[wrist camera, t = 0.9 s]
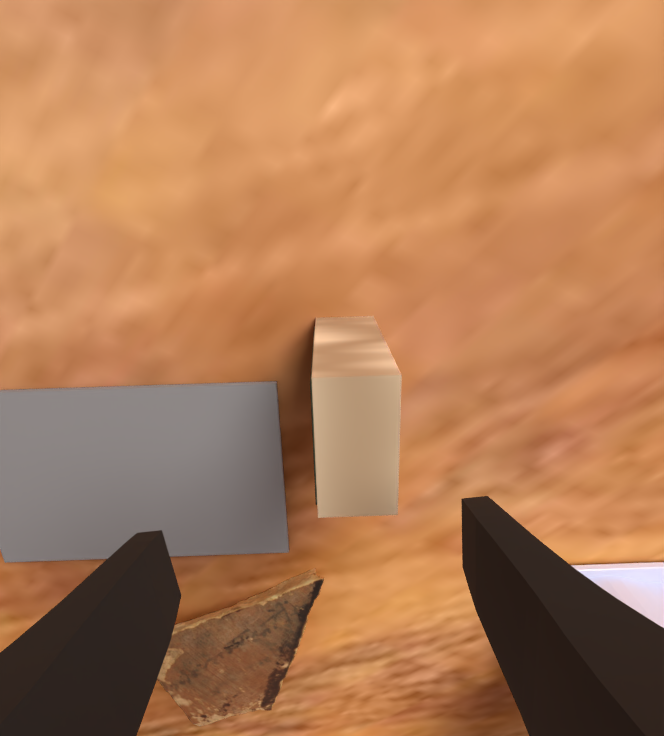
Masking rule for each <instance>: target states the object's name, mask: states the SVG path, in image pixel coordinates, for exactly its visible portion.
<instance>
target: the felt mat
mask: <svg viewBox="0 0 664 736" xmlns="http://www.w3.org/2000/svg"><path fill="white" fill-rule="evenodd" d="M159 530H162V532H163V535H164V539H165V542H166V546H167V549H168V552H169V556H170V557H173V556H202V555H230V554H259V553H287V552H289V540H288V526H287V513H286V499H285V486H284V472H283V459H282V445H281V432H280V418H279V405H278V391H277V381H270V382H238V383H207V384H176V385H144V386H113V387H82V388H50V389H19V390H0V550H1V553H2V556H3V559H4V561H5V562H31V561H60V560H88V559H108V558H109V557H110V556H111V555H112V554H113V553H115V552H116V551H117V550H118V549H119V548H120V547H121V546H122V545H123V544H124V543H126V542H127V541H128V540H129V539H130V538H131V537H133V536H134V535H135V534H136V533H140V532H149V531H159Z"/></svg>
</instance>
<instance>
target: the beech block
mask: <svg viewBox="0 0 664 736" xmlns="http://www.w3.org/2000/svg"><path fill="white" fill-rule="evenodd" d="M310 390H311V412H312V433H313V454H314V476H315V497H316V505H317V506H318V518H324V517H353V516H382V515H398V486H399V449H400V412H401V373H400V371H399V369H398V367H397V364H396V362H395V360H394V358H393V356H392V354H391V352H390V350H389V348H388V345H387V343H386V341H385V339H384V337H383V335H382V333H381V331H380V329H379V326H378V324H377V322H376V320H375V318H374V316H356V317H323V318H316V321H315V327H314V338H313V351H312V364H311V378H310Z"/></svg>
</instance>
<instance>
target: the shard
mask: <svg viewBox="0 0 664 736" xmlns="http://www.w3.org/2000/svg"><path fill="white" fill-rule="evenodd" d="M323 581H324V578H323V577H319V576H317V575H316V569H315V568H314V569H311V570H309V571H307V572H306V573H303V574H300V575H298V576H296V577H293V578H291V579H289V580H286V581H284V582H282V583H281V584H279V585H277V586H276V587H273V588H271V589H269V590H267V591H265V592H263V593H260V594H258V595H255V596H252V597H249V598H248V599H247V600H242V601H240V602H238V603H237V604H235V605H234V606H232V607H228V608H224V609H221V610H219V611H215V612H213V613H210V614H205V615H203V616H201V617H198V618H196V619H191V620H190V621H186V622H182V623H178V624H176V625H174V629H173V633H172V637H171V641H170V644H169V647H168V650H167V652H166V655H165V658H164V661H163V664H162V666H161V669H160V672H159V675H158V678H157V680H159V681H160V683H161V685H162V686H163V688H164V689H165V690H166V691H167V692H169V693H170V695H171V696H172V698H173V699H174V700H175V701H176V703H177V704H178V705H179V706H180V707H181V708H182V709H183V711H184V712H185V714H186V715H187V717H188V719H189V720H190V721H191V722H192V723H193V724H195V725H198V726H203V725H207V724H210V723H213V722H216V721H219V720H221V719H225V718H227V717H230V716H235V715H238V714H244V713H247V712H250V711H256V710H271V709H272V707H273V706H274V703H275V701H276V697H277V696H278V694H279V692H280V689H281V687H282V682H283V679H284V678H285V677H286V675H287V672H288V669H289V666H290V665H291V663H292V661H293V659H294V657H295V654H296V652H297V649H298V647H299V645H300V641H301V638H302V636H303V633H304V630H305V628H306V623H307V621H308V614H309V612H310V610H311V607H312V606H313V603H314V600H315V599H316V598H317V597H318V595H319V593H320V589H321V586H322V584H323Z"/></svg>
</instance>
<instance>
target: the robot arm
mask: <svg viewBox="0 0 664 736" xmlns="http://www.w3.org/2000/svg"><path fill="white" fill-rule="evenodd" d="M462 553H463V570H464V573H465V576H466V580H467V583H468V586H469V590H470V593H471V596H472V599H473V602H474V605H475V609H476V611H477V614H478V616H479V618H480V621H481V623H482V626H483V628H484V630H485V633H486V635H487V637H488V640H489V642H490V644H491V646H492V649H493V651H494V653H495V656H496V658H497V660H498V663H499V665H500V667H501V669H502V672H503V674H504V676H505V679H506V681H507V683H508V686H509V688H510V690H511V692H512V695H513V697H514V699H515V702H516V704H517V706H518V709H519V711H520V713H521V716H522V718H523V721H524V723H525V726H526V728H527V731H528V733H529V736H664V562H652V563H624V564H596V565H570V564H568V563H567V562H566V561H564V560H563V559H562V558H561V557H559V556H558V555H557V554H556V553H554V552H553V551H552V550H551V549H549V548H548V547H547V546H546V545H544V544H543V543H542V542H541V541H539V540H538V539H537V538H536V537H535V536H533V535H532V534H531V533H530V532H529V531H528V530H526V529H525V528H524V527H523V526H522V525H520V524H519V523H518V522H517V521H516V520H515V519H514V518H512V517H511V516H510V515H509V514H508V513H507V512H505V511H504V510H503V509H502V508H501V507H500V506H499V505H497V504H496V503H495V502H494V501H493V500H492V499H490V498H489V497H488V496H484V497H474V498H464V499H462ZM180 599H181V593H180V590H179V586H178V583H177V580H176V576H175V573H174V569H173V566H172V563H171V559H170V556H169V552H168V549H167V546H166V542H165V539H164V535H163V532H162V530H159V531H149V532H140V533H136V534H135V535H134V536H133V537H131V538H130V539H129V540H128V541H127V542H126V543H124V544H123V545H122V546H121V547H120V548H119V549H118V550H117V551H116V552H115V553H113V554H112V555H111V556H110V557H109V558H108V559H107V560H106V561H105V562H104V563H103V564H102V565H100V566H99V567H98V568H97V569H96V570H95V571H94V572H93V573H92V574H91V575H90V576H88V577H87V578H86V579H85V580H84V581H83V582H82V583H81V584H80V585H79V586H78V587H76V588H75V589H74V590H73V591H72V592H71V593H70V594H69V595H68V596H67V597H65V598H64V599H63V600H62V601H61V602H60V603H59V604H58V605H56V606H55V607H54V608H53V609H52V610H51V611H49V612H48V613H47V614H46V615H45V616H44V617H42V618H41V619H40V620H39V621H38V622H37V623H35V624H34V625H33V626H32V627H31V628H29V629H28V630H27V631H26V632H25V633H24V634H22V635H21V636H20V637H19V638H18V639H17V640H15V641H14V642H13V643H12V644H11V645H9V646H8V647H7V648H6V649H4V650H3V651H2V652H1V653H0V736H136V735H137V732H138V729H139V727H140V724H141V721H142V718H143V716H144V713H145V710H146V708H147V705H148V702H149V699H150V697H151V694H152V691H153V688H154V686H155V683H156V680H157V678H158V675H159V672H160V669H161V666H162V664H163V661H164V658H165V655H166V652H167V650H168V647H169V644H170V641H171V637H172V633H173V629H174V625H175V621H176V617H177V612H178V608H179V603H180Z"/></svg>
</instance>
